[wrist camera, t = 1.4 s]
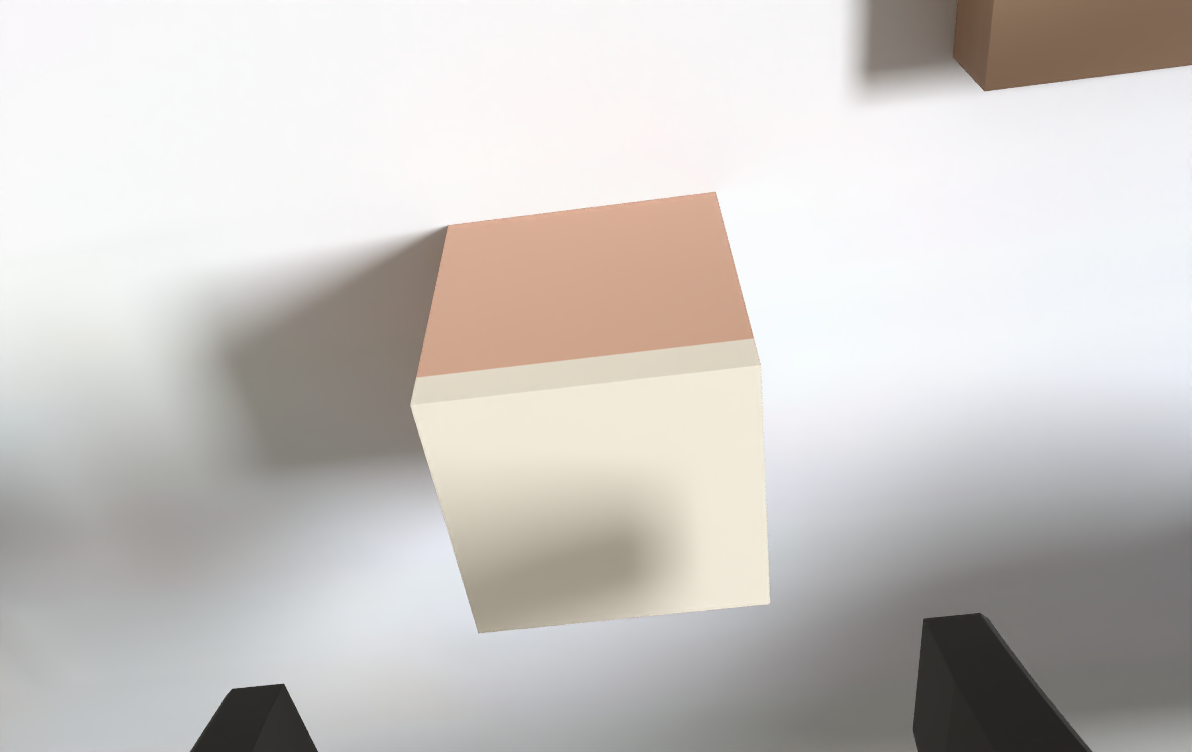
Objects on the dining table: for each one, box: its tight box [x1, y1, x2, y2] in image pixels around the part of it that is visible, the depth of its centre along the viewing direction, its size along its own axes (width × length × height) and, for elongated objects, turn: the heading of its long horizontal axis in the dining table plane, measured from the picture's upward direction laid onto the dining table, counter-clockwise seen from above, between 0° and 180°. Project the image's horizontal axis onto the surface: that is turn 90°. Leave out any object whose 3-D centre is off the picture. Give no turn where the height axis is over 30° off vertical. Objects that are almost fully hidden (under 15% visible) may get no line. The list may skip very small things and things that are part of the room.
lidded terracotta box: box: [410, 192, 770, 633], centre depth 16 cm, size 4×4×5 cm
